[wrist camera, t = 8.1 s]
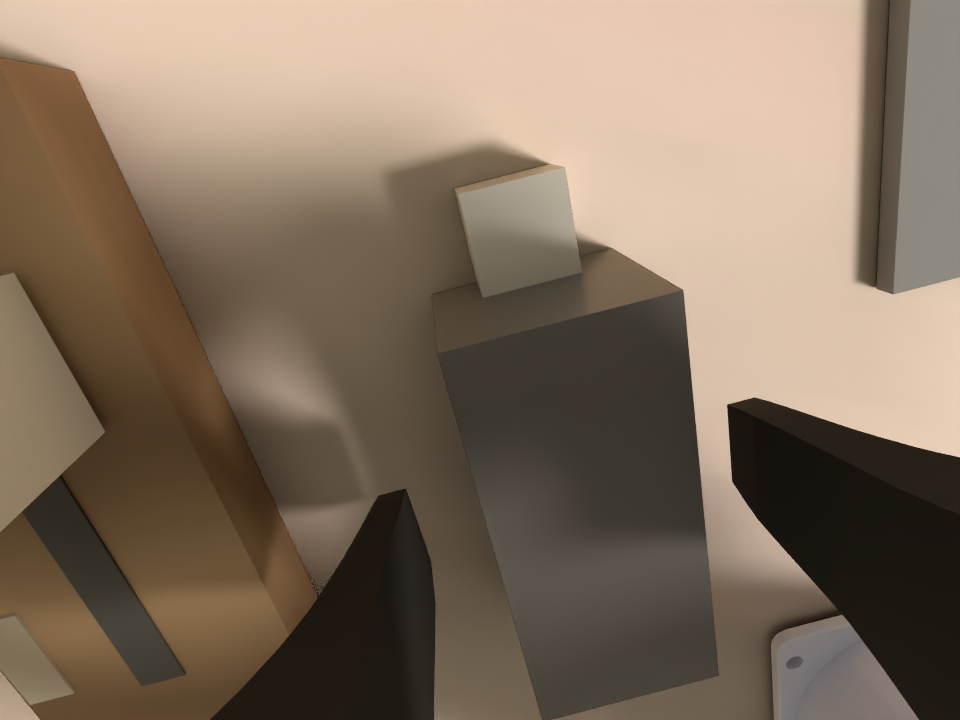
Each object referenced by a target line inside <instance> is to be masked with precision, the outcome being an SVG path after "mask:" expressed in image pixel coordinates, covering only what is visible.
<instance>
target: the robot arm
mask: <svg viewBox="0 0 960 720" xmlns="http://www.w3.org/2000/svg"><path fill="white" fill-rule="evenodd" d="M727 408H728V424H729V439H730V454H731V469H732V482H733V483H734V485H735V486H736V488H737V489H738V491H739V492H740V494H741V496H742V497H743V499H744V500H745V502H746V503H747V505H748V506H749V507H750V509H751V510H752V512H753V513H754V514H755V516H756V517H757V519H758V520H759V521H760V522H761V523H762V525H763V526H764V527H765V528H766V529H767V530H768V532H769V533H770V534H771V535H772V536H773V537H774V538H775V539H776V541H777V542H778V543H779V544H780V545H781V546H782V547H783V548H784V550H785V551H786V552H787V553H788V554H789V555H790V556H791V557H792V558H793V560H794V561H795V562H796V563H797V564H798V565H799V566H800V567H801V568H802V570H803V571H804V572H805V573H806V574H807V575H808V576H809V577H810V578H811V580H812V581H813V582H814V583H815V584H816V585H817V586H818V587H819V588H820V589H821V591H822V592H823V593H824V594H825V595H826V596H827V597H828V598H829V599H830V601H831V602H832V603H833V604H834V605H835V606H836V608H837V609H838V610H839V611H840V612H841V614H842V615H839V616H835V617H831V618H827V619H823V620H820V621H816V622H812V623H808V624H804V625H801V626H797V627H793V628H789V629H786V630H783V631H781V632H779V633H778V634H777V635H775V637H774V638H773V640H772V643H771V659H772V684H773V709H774V720H960V457H956V456H951V455H946V454H942V453H937V452H933V451H929V450H925V449H921V448H917V447H913V446H909V445H906V444H902V443H899V442H895V441H891V440H888V439H884V438H881V437H877V436H874V435H871V434H867V433H864V432H861V431H857V430H854V429H851V428H848V427H845V426H842V425H839V424H836V423H833V422H830V421H827V420H824V419H821V418H818V417H815V416H812V415H809V414H806V413H803V412H800V411H797V410H794V409H791V408H788V407H785V406H782V405H779V404H775V403H772V402H769V401H765V400H762V399H758V398H751V399H747V400H744V401H740V402H736V403H732V404H728V405H727ZM434 666H435V595H434V585H433V576H432V567H431V560H430V557H429V554H428V551H427V548H426V545H425V542H424V540H423V537H422V534H421V531H420V528H419V525H418V522H417V519H416V517H415V514H414V511H413V508H412V505H411V502H410V499H409V496H408V493H407V491H406V489H403V490H399V491H395V492H391V493H387V494H383V495H380V496H378V498H377V499H376V501H375V502H374V504H373V506H372V508H371V510H370V511H369V513H368V515H367V517H366V519H365V521H364V522H363V524H362V526H361V528H360V530H359V532H358V533H357V535H356V537H355V539H354V540H353V542H352V544H351V546H350V547H349V549H348V551H347V552H346V554H345V556H344V557H343V559H342V561H341V563H340V564H339V566H338V567H337V569H336V571H335V572H334V574H333V575H332V577H331V578H330V580H329V581H328V583H327V584H326V586H325V587H324V589H323V590H322V592H321V593H320V595H319V596H318V598H317V600H316V601H315V602H314V604H313V605H312V607H311V608H310V609H309V611H308V612H307V613H306V615H305V616H304V617H303V619H302V620H301V621H300V622H299V624H298V625H297V626H296V627H295V629H294V630H293V631H292V632H291V634H290V635H289V636H288V637H287V639H286V640H285V641H284V642H283V643H282V645H281V646H280V647H279V648H278V649H277V650H276V651H275V653H274V654H273V655H272V656H271V657H270V658H269V659H268V660H267V661H266V662H265V663H264V665H263V666H262V667H261V668H260V669H259V670H258V671H257V672H256V673H255V674H254V676H253V677H252V678H251V679H250V680H249V681H248V682H247V683H246V684H245V685H244V686H243V687H242V688H241V689H240V691H239V692H238V693H237V694H236V695H235V696H233V697H232V698H231V699H230V700H229V701H228V702H227V703H226V704H225V705H224V706H223V707H222V708H221V709H220V710H219V711H218V712H217V713H216V714H215V715H214V716H213V717H212V718H211V719H210V720H434Z"/></svg>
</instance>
